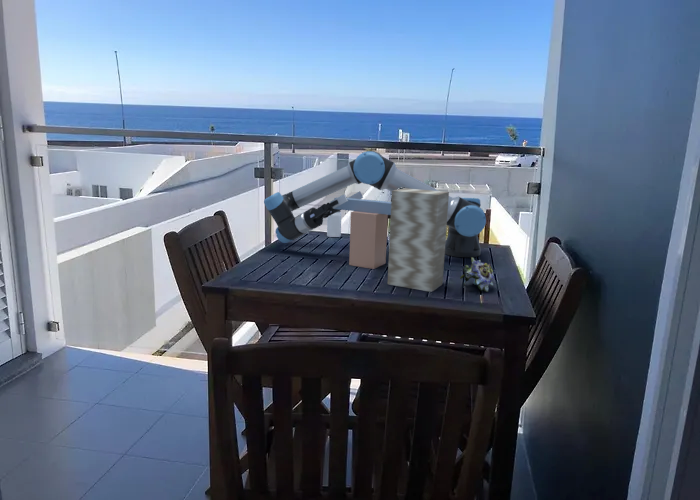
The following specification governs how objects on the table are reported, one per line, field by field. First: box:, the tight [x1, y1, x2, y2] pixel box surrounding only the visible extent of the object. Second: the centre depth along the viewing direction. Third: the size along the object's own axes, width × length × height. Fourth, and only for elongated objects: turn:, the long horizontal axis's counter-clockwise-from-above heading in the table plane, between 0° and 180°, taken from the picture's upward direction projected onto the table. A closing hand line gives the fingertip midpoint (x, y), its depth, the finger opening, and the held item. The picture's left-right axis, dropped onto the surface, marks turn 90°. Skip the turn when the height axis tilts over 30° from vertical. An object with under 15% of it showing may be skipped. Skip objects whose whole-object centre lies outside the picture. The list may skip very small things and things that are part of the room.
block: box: [348, 211, 389, 270], centre depth 191 cm, size 10×10×20 cm
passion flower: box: [459, 257, 495, 293], centre depth 167 cm, size 11×11×12 cm
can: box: [326, 210, 342, 238], centre depth 242 cm, size 6×6×12 cm
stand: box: [387, 188, 450, 293], centre depth 166 cm, size 15×10×30 cm, turn 62°
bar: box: [333, 197, 391, 216], centre depth 190 cm, size 24×4×4 cm, turn 62°
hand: (353, 196), depth 191 cm, fingers open, 11 cm apart
